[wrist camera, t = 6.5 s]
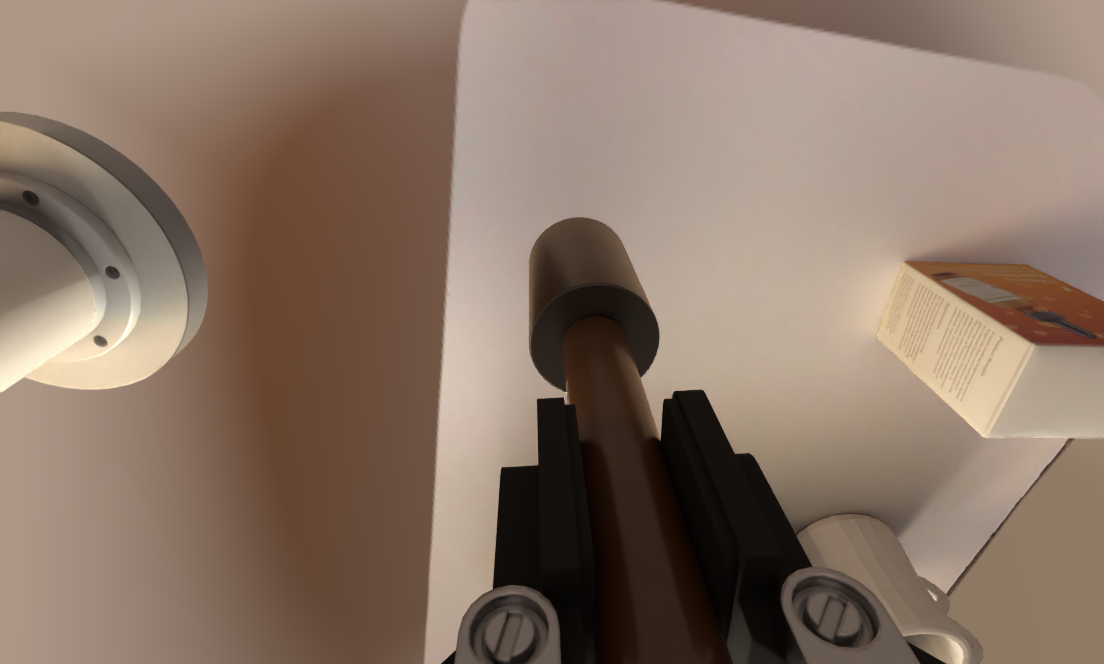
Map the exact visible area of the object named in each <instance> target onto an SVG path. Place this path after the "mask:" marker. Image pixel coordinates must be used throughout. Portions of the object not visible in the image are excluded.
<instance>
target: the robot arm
mask: <svg viewBox="0 0 1104 664" xmlns="http://www.w3.org/2000/svg"><path fill="white" fill-rule="evenodd" d="M140 309H141V290H140V284H139V279H138V276H137V274H136V271H135V268H134V265H133V263H132V261H131V259H130V257H129V256H128V254H127V252H126V250H125V249H124V247H123V245H122V244H121V243H120V241H119V240H118V239H117V238H116V236H115V235H114V234H113V233H112V231H111V230H110V229H109V228H108V226H106V225H105V224H104V223H103V222H102V221H101V220H100V219H99V218H98V217H97V216H96V215H95V214H94V213H93V212H92V211H91V210H89V209H88V208H86V207H85V206H84V205H82V204H81V203H80V202H78V201H77V200H75V199H74V198H73V197H71V196H69V195H68V194H66V193H64V192H62V191H60V190H59V189H57V188H55V187H53V186H51V185H49V184H47V183H44V182H41V181H39V180H36V179H34V178H31V177H28V176H25V175H20V174H16V173H11V172H7V171H0V393H1V392H3V391H4V390H5V389H7V388H8V387H10V386H12V385H13V384H15V383H16V382H17V381H19V380H20V379H22V378H24V377H25V376H27V375H28V374H30V373H31V372H33V371H34V370H36V369H37V368H39V367H40V366H42V365H43V364H45V363H46V362H48V361H57V362H74V361H82V360H88V359H91V358H94V357H97V356H100V355H103V354H104V353H106V352H107V351H109V350H111V349H112V348H114V347H115V346H117V345H118V344H119V343H120V342H121V341H123V340H124V339H125V338H126V337H128V335H129V334H130V332H131V331H132V330H133V328H134V327H135V325H136V323H137V320H138V317H139V314H140ZM537 418H538V465H537V466H519V467H502V469H501V475H500V489H499V504H498V519H497V534H496V550H495V565H494V580H493V590H491V591H489V592H487V593H485V594H483V595H481V596H480V597H479V598H478V599H477V600H476V601H475V602H473V603H472V604H471V606H470V607H469V609H468V610H467V612H466V613H465V615H464V616H463V618H462V622H461V625H460V629H459V632H458V640H457V647H456V650H455V651H454V652H453V653H452V654H451V655H450V656H449V657H448V658H447V659H446V660H445V661H444V662H443V663H441V664H595V658H594V648H593V639H592V631H593V627H594V624H595V622H596V608H595V565H594V553H593V544H592V536H591V528H590V520H589V512H588V504H587V496H586V488H585V480H584V471H583V463H582V455H581V447H580V439H579V431H578V423H577V415H576V407H575V404H567V405H565V402H564V397H563V398H545V399H537ZM661 444H662V447H663V450H664V453H665V456H666V459H667V462H668V465H669V468H670V471H671V475H672V478H673V481H674V484H675V487H676V490H677V493H678V496H679V499H680V502H681V505H682V509H683V512H684V515H685V518H686V521H687V524H688V527H689V530H690V533H691V536H692V539H693V543H694V546H695V549H696V552H697V555H698V558H699V561H700V564H701V567H702V570H703V574H704V577H705V580H706V583H707V586H708V589H709V592H710V595H711V598H712V601H713V604H714V608H715V611H716V614H717V616H718V619H719V622H720V625H721V628H722V632H723V635H724V638H725V641H726V644H727V647H728V650H729V653H730V656H731V659H732V662H733V664H946V663H944V662H943V661H941V660H939V659H937V658H936V657H934V656H932V655H930V654H929V653H927V652H925V651H923V650H922V649H920V648H918V647H916V646H915V645H913V644H911V643H909V642H907V641H906V640H905V639H904V637H903V635H902V634H901V632H900V631H899V629H898V628H897V626H896V624H895V623H894V621H893V620H892V618H891V616H890V615H889V613H888V612H887V610H886V609H885V607H884V606H883V604H882V603H881V602H880V601H879V599H878V598H877V597H876V596H875V594H874V593H873V592H872V591H870V590H869V589H868V588H867V587H865V586H864V585H863V584H862V583H861V582H859V581H858V580H856V579H854V578H852V577H850V576H848V575H846V574H844V573H842V572H839V571H835V570H832V569H829V568H820V567H813V566H812V564H811V562H810V560H809V559H808V557H807V555H806V553H805V551H804V549H803V547H802V545H801V544H800V542H799V540H798V538H797V536H796V534H795V532H794V530H793V528H792V527H791V525H790V523H789V521H788V519H787V517H786V515H785V513H784V512H783V510H782V508H781V506H780V504H779V502H778V500H777V498H776V496H775V495H774V493H773V491H772V489H771V487H770V485H769V483H768V481H767V480H766V478H765V476H764V474H763V472H762V470H761V468H760V466H759V464H758V463H757V461H756V459H755V458H754V457H753V455H751V454H750V453H744V454H735V453H734V451H733V449H732V447H731V445H730V443H729V441H728V439H727V437H726V435H725V433H724V431H723V429H722V427H721V425H720V423H719V421H718V419H717V417H716V414H715V412H714V410H713V408H712V406H711V404H710V402H709V400H708V398H707V396H706V394H705V392H704V391H703V390H686V391H675V392H674V393H673V396H672V399H664V402H663V413H662V429H661Z"/></svg>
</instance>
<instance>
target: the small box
mask: <svg viewBox="0 0 1104 664" xmlns="http://www.w3.org/2000/svg"><path fill="white" fill-rule="evenodd" d="M877 339H878V340H879V341H880V342H881V343H882V344H883V345H884V346H886V347H887V348H888V349H889V350H890V351H891V352H892V353H893V354H894V355H895V356H896V357H897V358H898V359H900V360H901V361H902V362H903V363H904V364H905V365H906V366H907V367H908V368H909V369H910V370H911V371H912V372H914V373H915V374H916V375H917V376H918V377H919V378H920V379H921V380H922V381H923V382H924V383H925V384H926V385H927V386H929V387H930V388H931V389H932V390H933V391H934V392H935V393H936V394H937V395H938V396H939V397H940V398H941V399H943V400H944V401H945V402H946V403H947V404H948V405H949V406H950V407H951V408H952V409H953V410H954V411H955V412H957V413H958V414H959V415H960V416H961V417H962V418H963V419H964V420H965V421H966V422H968V423H969V424H970V425H971V426H972V427H973V428H974V429H975V430H976V431H977V432H978V433H979V434H980V435H981V436H983V437H984V438H1004V437H1027V438H1086V439H1104V302H1103V301H1101V300H1099V299H1097V298H1095V297H1093V296H1091V295H1089V294H1087V293H1085V292H1083V291H1081V290H1079V289H1077V288H1075V287H1073V286H1071V285H1068V284H1066V283H1064V282H1062V281H1060V280H1058V279H1056V278H1054V277H1052V276H1050V275H1048V274H1046V273H1044V272H1042V271H1039V270H1037V269H1035V268H1033V267H1031V266H1029V265H1026V264H1011V265H997V264H966V263H939V262H911V261H905V262H904V263H903V265H902V268H901V271H900V274H899V276H898V279H897V282H896V285H895V287H894V290H893V293H892V296H891V298H890V301H889V304H888V307H887V309H886V312H885V315H884V318H883V321H882V323H881V326H880V329H879V331H878V334H877Z"/></svg>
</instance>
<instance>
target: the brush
mask: <svg viewBox="0 0 1104 664" xmlns="http://www.w3.org/2000/svg"><path fill="white" fill-rule="evenodd" d="M659 339H660V338H659V327H658V323H657V320H656V317H655V314H654V312H653V310H652V308H651V306H650V303H649V301H648V299H647V297H646V294H645V292H644V290H643V288H642V285H641V283H640V281H639V279H638V277H637V274H636V272H635V270H634V268H633V265H632V263H631V261H630V259H629V256H628V254H627V252H626V250H625V248H624V245H623V243H622V241H621V239H620V238H619V237H618V235H617V234H616V233H615V232H614V231H613V230H612V229H611V228H610V227H608V226H607V225H605V224H604V223H602V222H600V221H597V220H594V219H590V218H584V217H576V218H569V219H565V220H562V221H559V222H557V223H555V224H553V225H552V226H550V227H549V228H547V229H546V230H545V231H544V232H543V233H542V234H541V235H540V236H539V238H538V239H537V240H536V242H535V244H534V246H533V248H532V251H531V254H530V260H529V349H530V355H531V358H532V361H533V363H534V365H535V367H536V369H537V370H538V372H539V373H540V375H541V376H542V377H543V378H544V379H545V380H546V381H547V382H548V383H550V384H551V385H552V386H554V387H555V388H557V389H559V390H561V391H563V392H565V393H567V400H568V404H575V407H576V415H577V423H578V431H579V439H580V447H581V455H582V463H583V471H584V480H585V488H586V496H587V504H588V512H589V520H590V528H591V536H592V544H593V553H594V565H595V608H596V622H595V624H594V627H593V631H592V639H593V648H594V658H595V664H733V662H732V659H731V656H730V653H729V650H728V647H727V644H726V641H725V638H724V635H723V632H722V628H721V625H720V622H719V619H718V616H717V614H716V611H715V608H714V604H713V601H712V598H711V595H710V592H709V589H708V586H707V583H706V580H705V577H704V574H703V570H702V567H701V564H700V561H699V558H698V555H697V552H696V549H695V546H694V543H693V539H692V536H691V533H690V530H689V527H688V524H687V521H686V518H685V515H684V512H683V509H682V505H681V502H680V499H679V496H678V493H677V490H676V487H675V484H674V481H673V478H672V475H671V471H670V468H669V465H668V462H667V459H666V456H665V453H664V450H663V447H662V444H661V440H660V437H659V434H658V431H657V428H656V425H655V422H654V418H653V415H652V412H651V409H650V406H649V403H648V400H647V397H646V394H645V391H644V388H643V385H642V381H641V377H642V376H643V375H644V374H645V373H646V372H647V370H648V369H649V368H650V366H651V364H652V363H653V361H654V358H655V356H656V354H657V350H658V347H659Z"/></svg>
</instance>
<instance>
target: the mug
mask: <svg viewBox="0 0 1104 664" xmlns="http://www.w3.org/2000/svg"><path fill="white" fill-rule="evenodd" d="M796 536H797V538H798V540H799V542H800V544H801V545H802V547H803V549H804V551H805V553H806V555H807V557H808V559H809V560H810V562H811V564H812V566H813V567H820V568H829V569H832V570H835V571H839V572H842V573H844V574H846V575H848V576H850V577H852V578H854V579H856V580H858V581H859V582H861V583H862V584H863V585H864V586H865V587H867V588H868V589H869V590H870V591H872V592H873V593H874V594H875V596H876V597H877V598H878V599H879V601H880V602H881V603H882V604H883V606H884V607H885V609H886V610H887V612H888V613H889V615H890V616H891V618H892V620H893V621H894V623H895V624H896V626H897V628H898V629H899V631H900V632H901V634H902V635H903V637H904V639H905V640H906V641H907V642H909V643H911V644H913V645H915V646H916V647H918V648H920V649H922V650H923V651H925V652H927V653H929V654H930V655H932V656H934V657H936V658H937V659H939V660H941V661H943V662H944V663H946V664H979V663H980V662H981V661H982V658H983V648H982V646H981V645H980V643H979V641H978V639H977V638H976V637H975V636H974V635H973V634H972V633H971V632H970V631H969V630H967V629H966V628H964V627H963V626H962V625H960V624H959V623H957V622H956V621H954V620H953V619H952V618H950V617H949V616H948V615H947V612H948V611H949V608H950V600H949V599H948V597H947V596H946V594H945V593H944V592H943V591H942V590H940V589H939V588H938V587H937V586H936V585H934V584H933V583H931V582H929V581H928V580H926V579H925V578H923V577H920V576H918V575H917V573H916V572H915V570H914V568H913V566H912V565H911V563H910V561H909V559H908V557H907V555H906V553H905V551H904V549H903V547H902V546H901V544H900V542H899V541H898V539H897V537H896V536H895V534H894V533H893V532H892V531H891V529H890V528H889V527H888V526H887V525H886V524H884V523H883V522H881V521H879V520H878V519H876V518H872V517H869V516H865V515H860V514H842V515H834V516H830V517H827V518H824V519H821V520H818V521H816V522H814V523H813V524H811V525H809V526H807V527H806V528H804V529H803V530H802V531H801V532H799V533H798V534H797V535H796ZM933 598H934V599H935V600H936V602H935V600H934V599H933Z"/></svg>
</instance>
